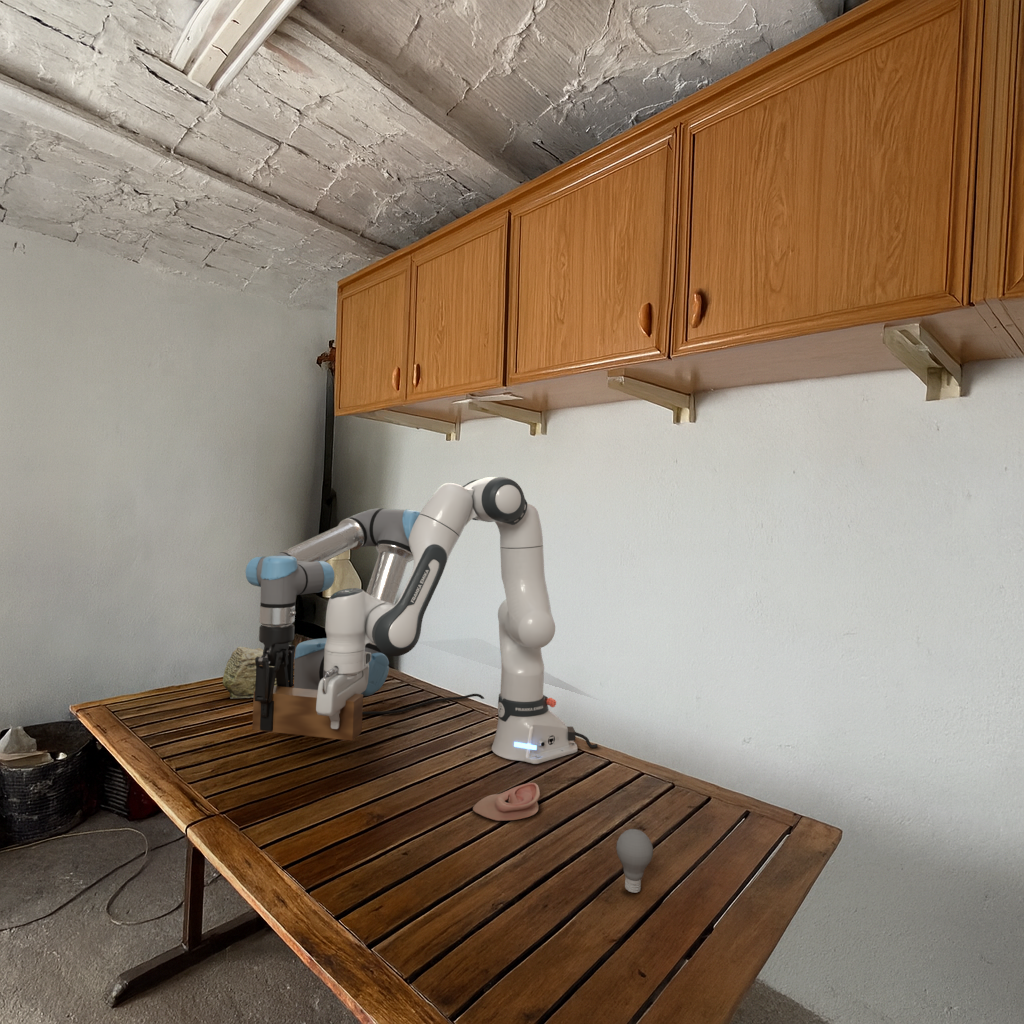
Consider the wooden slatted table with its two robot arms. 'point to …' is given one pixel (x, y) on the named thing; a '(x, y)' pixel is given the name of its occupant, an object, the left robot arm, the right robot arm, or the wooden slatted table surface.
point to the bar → (310, 715)
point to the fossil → (242, 672)
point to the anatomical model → (510, 803)
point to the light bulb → (634, 857)
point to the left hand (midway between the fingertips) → (273, 724)
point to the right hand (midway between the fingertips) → (342, 722)
